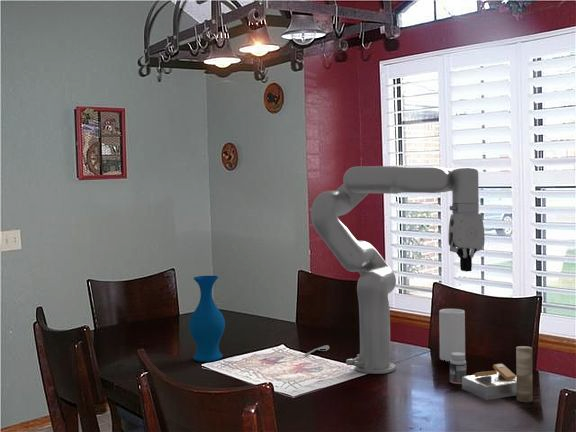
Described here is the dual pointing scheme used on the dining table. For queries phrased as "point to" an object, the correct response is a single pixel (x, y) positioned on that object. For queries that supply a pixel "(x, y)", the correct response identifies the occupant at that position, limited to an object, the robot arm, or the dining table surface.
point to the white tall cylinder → (451, 332)
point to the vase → (207, 323)
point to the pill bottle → (457, 367)
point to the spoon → (318, 349)
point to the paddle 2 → (504, 371)
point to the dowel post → (524, 373)
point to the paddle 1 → (485, 373)
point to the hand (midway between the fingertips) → (466, 270)
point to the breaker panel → (490, 386)
